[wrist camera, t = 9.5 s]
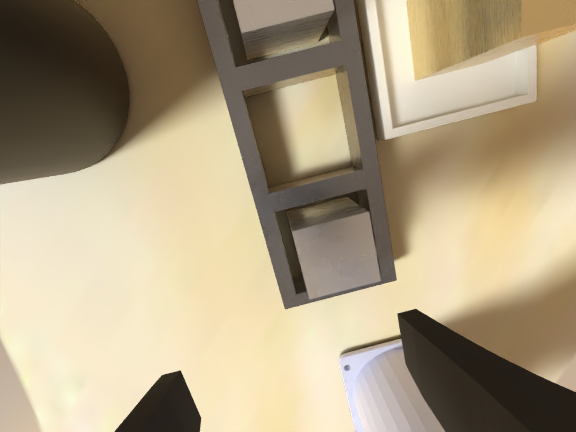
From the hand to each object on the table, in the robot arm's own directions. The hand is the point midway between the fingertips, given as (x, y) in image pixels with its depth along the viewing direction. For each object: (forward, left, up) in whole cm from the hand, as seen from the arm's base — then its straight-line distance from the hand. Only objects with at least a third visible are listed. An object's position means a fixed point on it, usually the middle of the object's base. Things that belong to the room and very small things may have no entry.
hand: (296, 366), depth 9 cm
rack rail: (+7, -3, -10) cm, 12 cm away
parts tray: (+10, -12, -10) cm, 18 cm away
